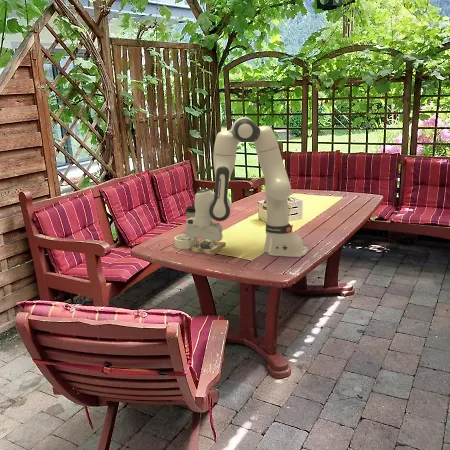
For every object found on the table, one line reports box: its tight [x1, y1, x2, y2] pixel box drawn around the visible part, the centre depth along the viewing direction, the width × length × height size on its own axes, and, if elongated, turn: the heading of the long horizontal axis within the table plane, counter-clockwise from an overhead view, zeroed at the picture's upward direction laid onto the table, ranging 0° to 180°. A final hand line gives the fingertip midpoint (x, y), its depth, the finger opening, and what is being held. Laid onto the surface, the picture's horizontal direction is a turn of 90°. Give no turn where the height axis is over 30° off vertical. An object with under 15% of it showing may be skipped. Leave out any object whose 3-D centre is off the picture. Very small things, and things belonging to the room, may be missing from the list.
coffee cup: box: [185, 205, 196, 220], centre depth 276 cm, size 9×9×15 cm
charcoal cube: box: [200, 241, 211, 250], centre depth 243 cm, size 4×4×4 cm
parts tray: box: [190, 239, 227, 255], centre depth 246 cm, size 13×14×3 cm
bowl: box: [174, 233, 195, 250], centre depth 252 cm, size 12×12×6 cm
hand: (203, 246), depth 243 cm, fingers open, 6 cm apart
